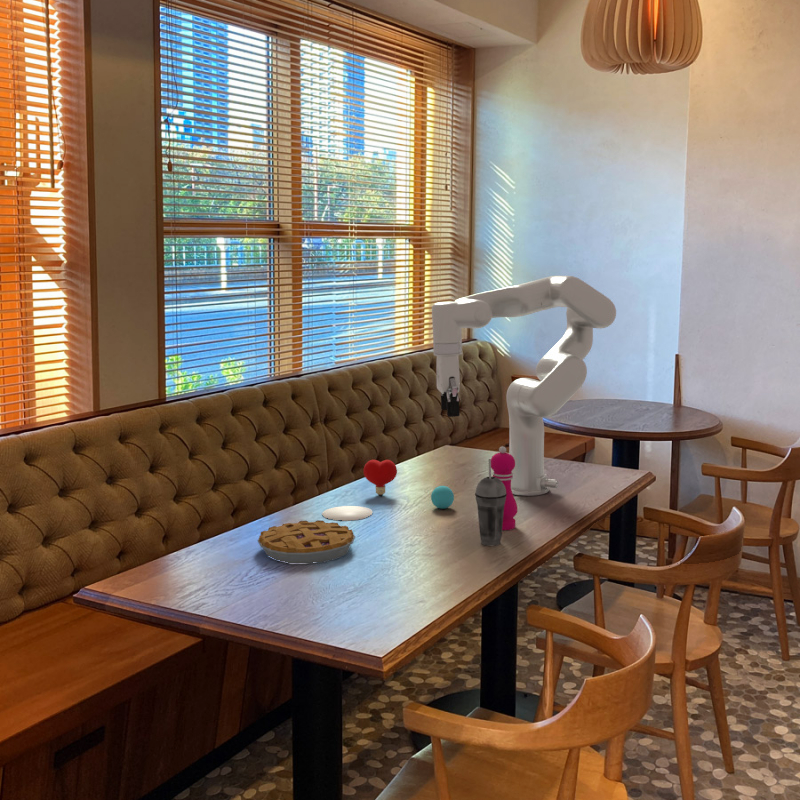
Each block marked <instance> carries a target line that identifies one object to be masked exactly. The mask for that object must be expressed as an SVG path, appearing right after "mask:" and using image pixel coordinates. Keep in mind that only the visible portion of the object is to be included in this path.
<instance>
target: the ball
mask: <svg viewBox="0 0 800 800" xmlns="http://www.w3.org/2000/svg"><path fill="white" fill-rule="evenodd" d="M430 500H431V503H432V504H433V505H434V506H435V507H436V508H438V509H441V510H445V509H447V508H449V507H451V506H452V504H453V502H454V501H455V494H454V492H453V490H452V489H451V488H450V487H448V486H446V485H439V486H436V487H435V488H434V489H433V490H432V492H431V493H430Z"/></svg>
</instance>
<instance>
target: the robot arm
mask: <svg viewBox="0 0 800 800" xmlns="http://www.w3.org/2000/svg"><path fill="white" fill-rule="evenodd" d="M559 307H561V308H566V313H565V314H566V316H565V317H566V328H565V329H566V330H565V332H564V334H563V336H562V337H561V338H560V339H559V340H558V341H557V342H556V343H555V344H554V346H552V348H550V349H549V350H548V351H547V353H545V354H544V356H542V357H541V358H540V360H538V362H537V364H536V367H535V375H536V377H537V378H538V379H534V378H529V377H519V378H517V379H515V380H514V381H512V382H511V383H510V385H509V386H508V388H507V391H506V397H505V399H506V405H507V411H508V420H509V446H508V447H509V449H508V453H509V454H511V455H512V456H513V458H514V460H515V467H514V469H513V470H512V473H513V479H511V490H512V494H513V495H516V496H530V497H531V496H539V495H544V494H547V493H548V492H549V491H550V488H552V489H558V488H559V482H558V481H557V479H552V478H551V479H550V478H548V474H547V473H545V471H544V470H545V469H544V467H545V466H544V465H545V464H544V463H545V462H544V460H545V456H544V455H545V424H544V418H549V417H551V416H554V415H555V414H556V413H557V412H558V411H559V410H560V409H561V408H562V407H563V406H564V405H565V404H566V403H567V402H568V401H569V400H570V399H572V397H573V396H574V395H575V394H576V393H578V391H579V390H580V389H581V388H582V386H583V385H584V383H585V381H586V378H587V376H588V375H587V374H588V368H587V365H586V363H585V361H584V359H585V358H586V357H587V355H589V353H590V352H591V349H592V346H593V344H594V343H593V342H594V329H600V330H601V329H606V328H608V327H610V326H611V325H612V324H614V322H615V319H616V317H617V309H616V306H615V304H614V302H613V301H612V300H611V298H609V297H608V296H606V295H605V294H604V293H602V292H600V291H598V290H597V289H595V288H594V287H592V286H591V284H588V283H587V282H585V281H584V280H582V279H580V278H578V277H576V276H573V275H551V276H547V277H546V276H545V277H542V278H539V279H536V280H535V279H534V280H532V281H528V282H524V283H519V284H516V285H512V286H507V287H502V288H499V289H494V290H488V291H483V292H479V293H475V294H471V295H468V296H464V297H460V298H458V299H455V301H440V302H435V303H434V304H432V306H431V321H432V323H431V324H432V341H433V356H435V357H436V389H437V390H438V391H439V392H440V407H441V408H440V409H441V410H442V411H446V416H447V417H448V418H451V417H452V418H454V417H459V416H460V398H459V392H460V390H461V385H460V384H461V383H460V382H461V381H460V362H459V356H462V355H463V341H462V340H463V339H462V338H463V337H462V329H463V328H464V329H482V328H484V327H486V326H487V325H489V324H490V323H491V321H492V319H496V318H517V317H524V316H528V315H533V314H535V313H539V312H542V311H546V310H550V309H554V308H559Z"/></svg>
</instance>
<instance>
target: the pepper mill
mask: <svg viewBox="0 0 800 800" xmlns="http://www.w3.org/2000/svg"><path fill="white" fill-rule="evenodd" d="M490 459H491V471H493V472H491V477H496V478H498V479H499V480H501V481H502V483H503V484H504V486H505V488H506V493H507V496H506V500H505V504H504V514H503V525H502V531H511V530H513V529H515V528H516V519H515V518H514V517H516V516H517V514H518V510H519V509H518V504H517V500H516V499H515V496H514V494H512V490H511V479H513V473H512V470H513V469H514V467H515V460H514V458H513V456H512V455H511V454H509V452H507V447H505V446H500V447H499V448H498V452H497V453H494V455H492V457H491V458H490Z"/></svg>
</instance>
